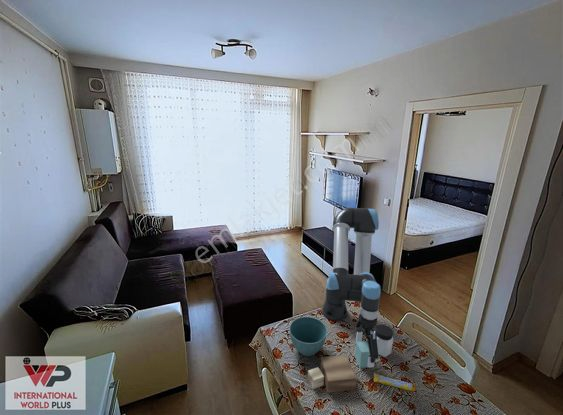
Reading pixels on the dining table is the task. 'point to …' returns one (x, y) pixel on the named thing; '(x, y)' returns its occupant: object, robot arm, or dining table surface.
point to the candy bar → (394, 382)
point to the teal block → (362, 354)
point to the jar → (384, 339)
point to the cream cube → (315, 378)
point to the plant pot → (308, 335)
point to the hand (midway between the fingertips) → (364, 354)
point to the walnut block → (338, 373)
